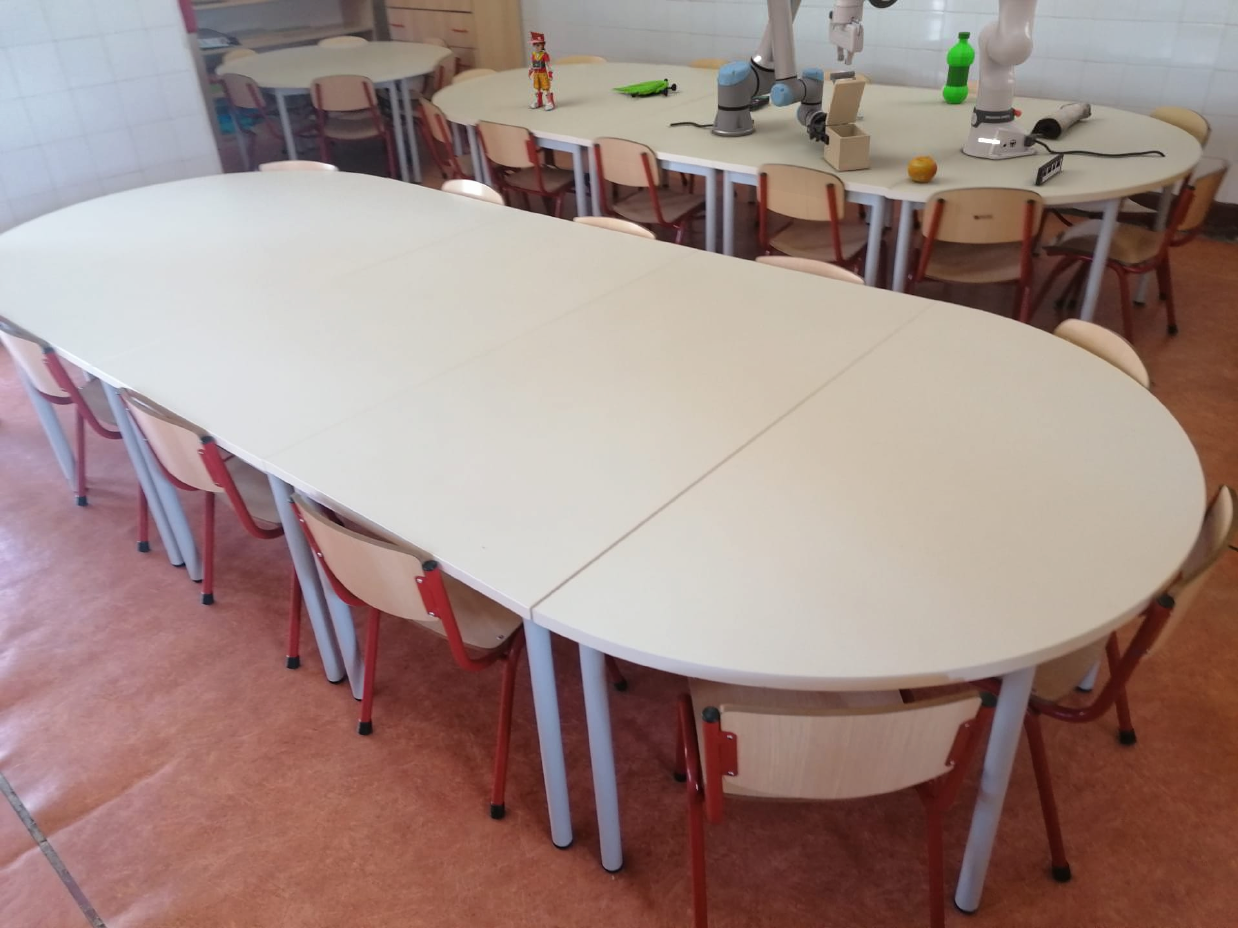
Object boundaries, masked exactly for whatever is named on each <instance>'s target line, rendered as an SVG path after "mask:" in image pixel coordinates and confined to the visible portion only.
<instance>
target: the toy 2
mask: <svg viewBox="0 0 1238 928" xmlns="http://www.w3.org/2000/svg"><path fill="white" fill-rule="evenodd" d="M669 85H670V83H669V79H668V78H664V79H663V80H649V81H644V82H640V83H634V84H629V85H627V86H621V87H613V88H612V89H613V90H616V91H619V92H623V93H627V94H628V93H629V94H631V95H630V96H631V98H632V99H634V98H636V96H637V95H650V94H652V93H654V94H658V93H662V95H663V96H665V97H667V96H668V95H669V90H671V91H672V92H676V91H677V84H676V83H672V84H671V86H669Z"/></svg>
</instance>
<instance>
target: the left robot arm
mask: <svg viewBox="0 0 1238 928" xmlns="http://www.w3.org/2000/svg"><path fill="white" fill-rule="evenodd" d="M802 1H803V0H766V5H767V6H766V7H767V14H768V20H767V23H766V26H765V30H764V32H763V35H762V38H761V40H760V44H759V46H758V48H757V50H755V51H753V52H752V54H751V57H750V60H749V62H748V61H744V60H738V61H732V62H728V63H726V64H723V65H722V66H720V68H718V73H717V74H718V75H717V111H716V114H715V118H714V120H713V123H710V124H709V123H707V124H699V123H696V122H693V121H683V122H682V121H679V122H673V123H670V124H669V126H670V127H675V126H681V125H682V126H683V125H692V126H695V127H698V128H711V127H712V133H713V134H715V135H717V136H721V137H741V136H746V135H750V134H752V133H754V127H755V126H754V124H755V119H753V118H752V115H751V110H749V98H753V97H757V96H767V95H769V96H770V101H771V103H772V104H773V105H774V106H775V107H778V108H783V107H788V106H790V105H795V104H797V103H800V104H799V106H798V108H797V109H796V120H798V122H799V123H800V124H801V125H802V126H804V127H806V133H807V134H808V136H809V140H814V139H815V142H816V143H819V142H822V143H823V144H824V145H825V144H826V145H829V136H828V135H827V134H825V131H826V118H827V114H828V112H826V111H824V110H822V107H823V97H824V96H823V94H824V85H825V72H824V70H823V69H821V68H815V67H813V68H805V69H804V70H803V71H802V74H801V77H800V78H798V69H797V58H796V48H795V38H794V29H793V28H794V26H793V24H794V22H795V19H796V17H797V14H798V11H799V9H800V6H801V3H802ZM846 124H850V123H846ZM836 125H845V124H836ZM836 125H827V126H836Z"/></svg>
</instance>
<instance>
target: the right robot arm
mask: <svg viewBox="0 0 1238 928" xmlns="http://www.w3.org/2000/svg"><path fill="white" fill-rule="evenodd" d="M865 1H866V0H835V1H834V5H833V9H831V10H829V11H828V19H829V25H828V40H829V43H831V44H833V45H834V46H836V56H837V57H836V60H837V61H838V62H844V65H846V66H851V65H852V64H853V59H854V56H855V53H861V52H862V51H863V49H864V37H865V35H864V34H865V33H864V32H865V31H864V26H863V24H861V22H862V21H863V12H864V2H865ZM867 1H868V2H869V4H870V5H871V6H872V7H874V8H876V9H887V8H890V7H891V6H893V5H894V4H896V2H898V0H867ZM1037 4H1038V0H998V17H997V20H994V21H991V22H989V23H987V24H986V25H984V26H983V27H982V28H981V30H980V32H979V34H978V37H977V45H978V50H979V57H978V59H979V60H978V66H979V67H978V69H979V70H978V72H979V73H978V75H979V78H978V86H977V94H976V100H975V105H974V107H973V110H972V113H971V119H970V120H971V121H970V129H969V133H968V135H967V138H966V139H967V140H966V142H965V144H964V146H963V148H962V152H963V153H964V154H966V155H969V156H972V157H977V158H984V159H985V158H986V159H991V160H1003V159H1011V158H1017V157H1022V156H1023V157H1024V156H1030V155H1034V154H1035V153H1036V150H1035V147H1034V145H1036V144H1038V145H1040V146H1043V147H1044V149H1046V151H1047V152H1048V153H1049V154H1052V155H1059V154H1064V155H1069V154H1070V155H1071V154H1084V155H1092V156H1097V157H1107V158H1119V157H1120V158H1121V157H1129V156H1130V157H1131V156H1143V155H1150V154H1156V155H1159V156H1160V157H1162V158H1166V155H1165V154H1164V152H1162V151H1160V150H1147V151H1138V152H1137V151H1136V152H1125V153H1102V152H1096V151H1095V152H1094V151H1089V150H1088V151H1087V150H1068V151H1067V150H1065V151H1055V150H1052V149H1051V148H1050V147H1049V145H1047V144H1046V143H1045V142H1043V141H1040V140H1038V139H1037V138H1038V134H1030V133H1029V131H1028V130H1027V129H1026V128H1025V127H1024V126H1022V124H1020V123H1019V122H1018V121H1017V120H1016V118H1021V116H1022V115H1023V112H1022V110H1020V109H1017V108H1014V107H1012V106H1013V100H1014V96H1015V90H1016V84H1017V80H1016V75H1015V66H1019V65H1022V64H1024V63H1025V62H1026V61H1027V60H1028V59H1029V58H1030V56H1031V55H1032V53H1033V49H1034V42H1033V41H1034V40H1033V29H1034V22H1035V15H1036V7H1037ZM844 50H845V53H846V56H845V55H844ZM1015 117H1016V118H1015Z"/></svg>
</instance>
